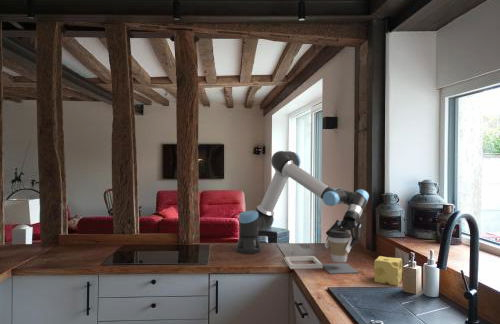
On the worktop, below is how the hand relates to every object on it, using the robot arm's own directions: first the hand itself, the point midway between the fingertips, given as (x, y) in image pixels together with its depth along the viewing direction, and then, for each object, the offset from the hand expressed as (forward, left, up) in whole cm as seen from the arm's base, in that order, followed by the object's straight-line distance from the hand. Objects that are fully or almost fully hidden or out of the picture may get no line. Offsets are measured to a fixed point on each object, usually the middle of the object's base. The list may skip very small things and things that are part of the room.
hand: (336, 249), depth 184 cm
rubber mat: (-2, +2, -10) cm, 11 cm away
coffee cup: (-2, +2, -6) cm, 7 cm away
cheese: (+18, +18, -11) cm, 28 cm away
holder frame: (-12, -14, -10) cm, 21 cm away
